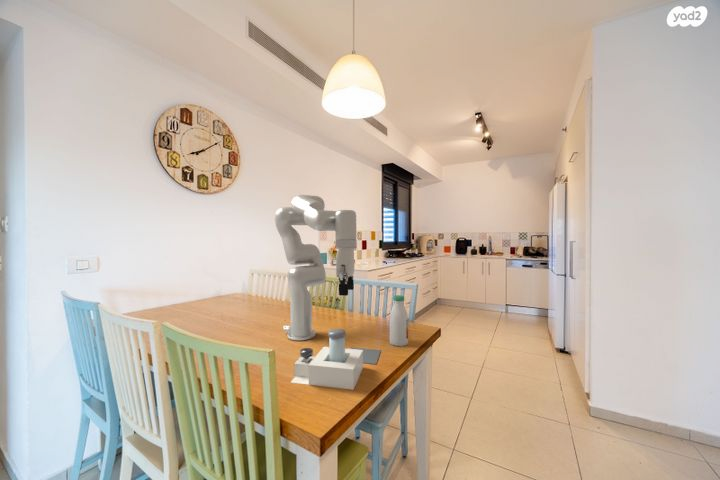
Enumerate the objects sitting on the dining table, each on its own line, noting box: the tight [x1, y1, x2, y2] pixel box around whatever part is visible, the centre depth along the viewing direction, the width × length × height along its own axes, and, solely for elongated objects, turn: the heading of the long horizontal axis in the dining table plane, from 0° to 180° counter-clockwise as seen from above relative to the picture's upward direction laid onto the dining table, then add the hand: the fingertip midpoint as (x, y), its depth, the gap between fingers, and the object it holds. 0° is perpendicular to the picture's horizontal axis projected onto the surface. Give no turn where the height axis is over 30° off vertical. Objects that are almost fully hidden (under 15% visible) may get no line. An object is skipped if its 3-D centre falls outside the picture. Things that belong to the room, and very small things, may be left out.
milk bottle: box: [389, 294, 409, 347], centre depth 121 cm, size 8×8×20 cm
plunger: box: [299, 347, 314, 363], centre depth 94 cm, size 4×4×6 cm
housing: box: [289, 346, 364, 391], centre depth 93 cm, size 20×14×7 cm
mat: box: [349, 347, 382, 366], centre depth 107 cm, size 12×12×1 cm
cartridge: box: [327, 328, 347, 363], centre depth 92 cm, size 6×6×14 cm
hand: (346, 292), depth 103 cm, fingers open, 9 cm apart
